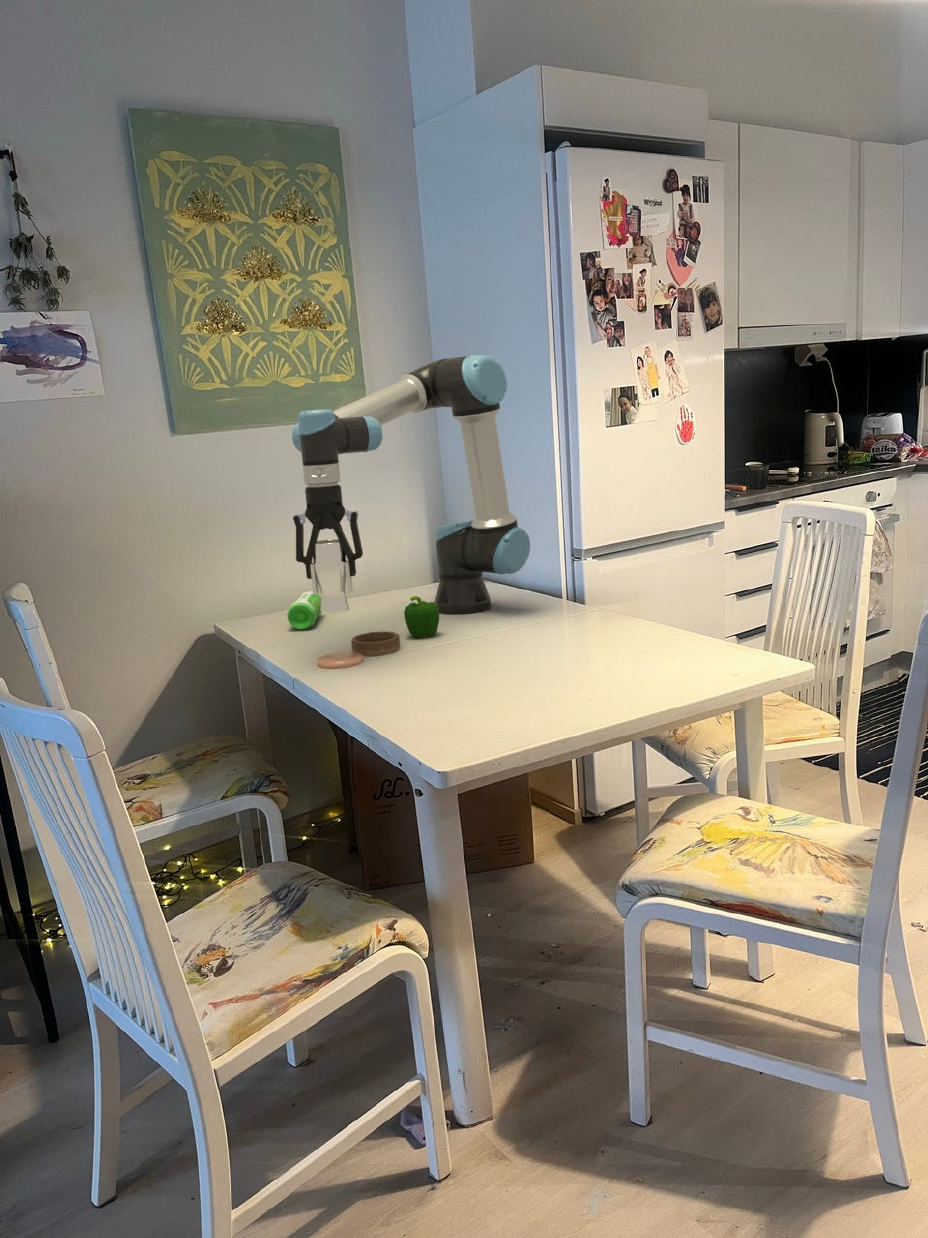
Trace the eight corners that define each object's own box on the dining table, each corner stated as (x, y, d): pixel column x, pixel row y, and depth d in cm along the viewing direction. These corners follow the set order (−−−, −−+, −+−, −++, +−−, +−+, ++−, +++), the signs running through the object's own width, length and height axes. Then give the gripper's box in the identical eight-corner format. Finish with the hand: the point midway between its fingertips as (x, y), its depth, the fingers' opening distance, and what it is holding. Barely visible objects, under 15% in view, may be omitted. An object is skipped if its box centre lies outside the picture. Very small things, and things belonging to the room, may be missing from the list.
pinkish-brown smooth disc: (365, 655, 214) (365, 650, 214) (360, 667, 204) (359, 662, 204) (321, 657, 214) (320, 653, 214) (313, 669, 205) (313, 665, 204)
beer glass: (357, 608, 207) (351, 539, 204) (332, 615, 202) (325, 544, 199) (337, 605, 211) (330, 538, 208) (312, 611, 207) (305, 543, 203)
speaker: (316, 630, 242) (313, 601, 241) (287, 632, 242) (284, 603, 241) (326, 616, 259) (323, 588, 258) (299, 617, 260) (296, 590, 258)
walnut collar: (401, 642, 223) (400, 630, 222) (397, 654, 212) (396, 641, 212) (356, 645, 223) (355, 633, 223) (350, 657, 213) (348, 644, 212)
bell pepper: (435, 630, 233) (432, 590, 231) (444, 637, 226) (441, 595, 223) (401, 634, 231) (398, 594, 229) (410, 642, 223) (407, 600, 221)
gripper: (272, 489, 198) (284, 598, 202) (367, 483, 197) (376, 593, 202) (280, 486, 205) (291, 591, 210) (371, 480, 204) (380, 586, 209)
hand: (333, 592), depth 206 cm, fingers closed on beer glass, 7 cm apart
